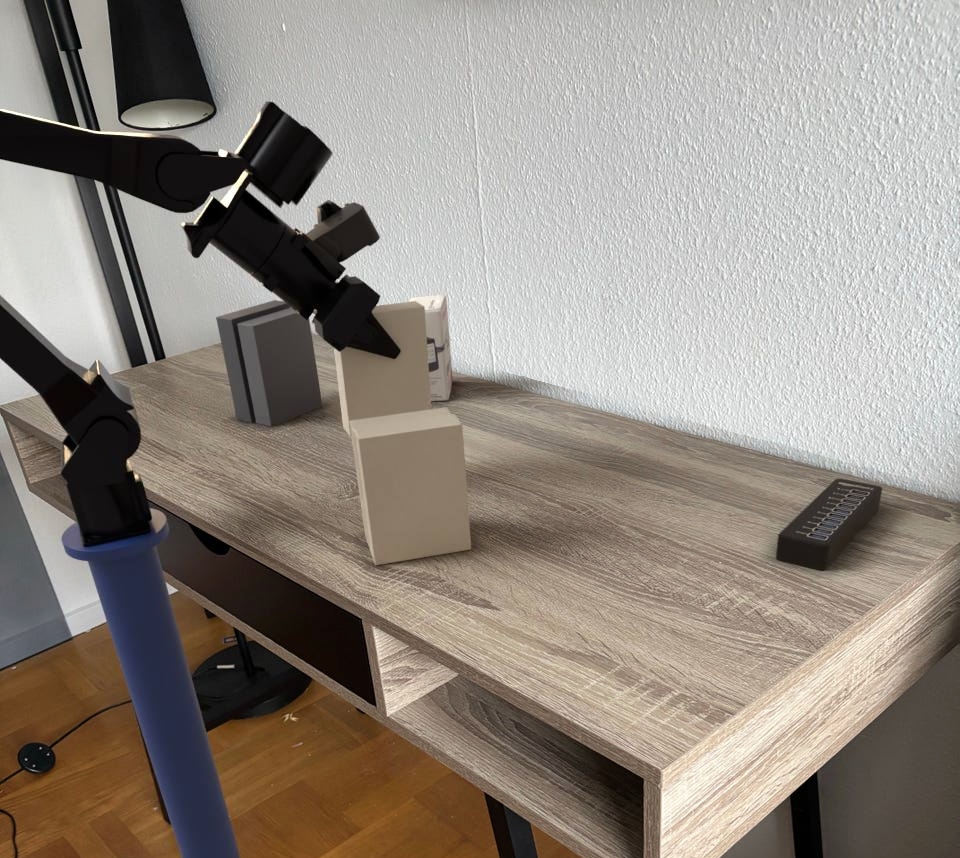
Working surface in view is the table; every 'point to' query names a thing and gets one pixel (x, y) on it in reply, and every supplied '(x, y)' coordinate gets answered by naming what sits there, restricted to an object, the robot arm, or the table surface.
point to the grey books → (270, 363)
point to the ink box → (437, 345)
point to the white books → (412, 484)
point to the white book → (387, 369)
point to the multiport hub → (828, 524)
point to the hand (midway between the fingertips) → (393, 351)
